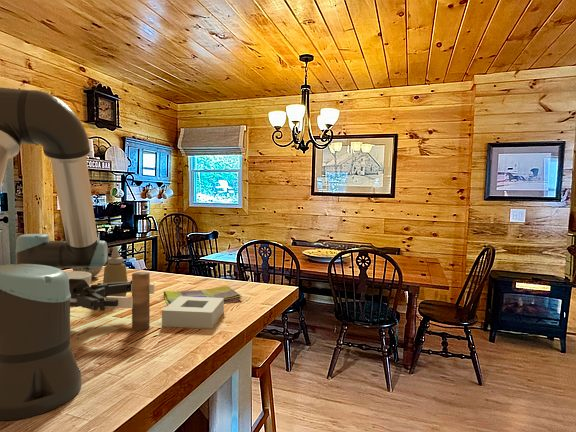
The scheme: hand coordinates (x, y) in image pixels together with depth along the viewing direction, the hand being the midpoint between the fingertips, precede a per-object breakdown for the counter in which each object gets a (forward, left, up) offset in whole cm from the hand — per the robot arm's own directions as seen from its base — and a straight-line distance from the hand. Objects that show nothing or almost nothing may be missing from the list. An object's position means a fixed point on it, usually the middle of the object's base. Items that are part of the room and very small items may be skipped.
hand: (143, 295), depth 100 cm
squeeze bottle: (+23, +21, -9) cm, 32 cm away
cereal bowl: (+26, +41, -9) cm, 49 cm away
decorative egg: (+51, +48, -9) cm, 71 cm away
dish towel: (+29, -8, -10) cm, 32 cm away
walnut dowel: (-1, +1, -9) cm, 9 cm away
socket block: (+8, -11, -9) cm, 17 cm away
